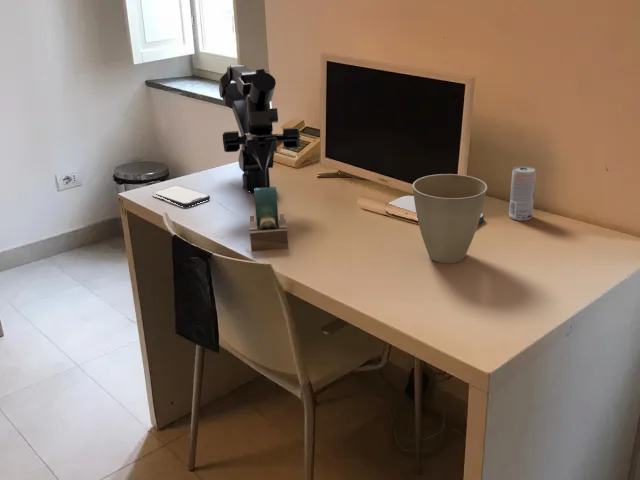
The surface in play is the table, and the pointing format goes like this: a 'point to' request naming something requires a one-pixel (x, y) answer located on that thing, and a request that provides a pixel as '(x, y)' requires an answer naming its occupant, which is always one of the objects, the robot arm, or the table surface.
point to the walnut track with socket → (269, 236)
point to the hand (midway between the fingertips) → (263, 170)
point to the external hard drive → (413, 204)
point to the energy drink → (522, 193)
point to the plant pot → (448, 213)
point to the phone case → (182, 196)
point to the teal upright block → (266, 208)
